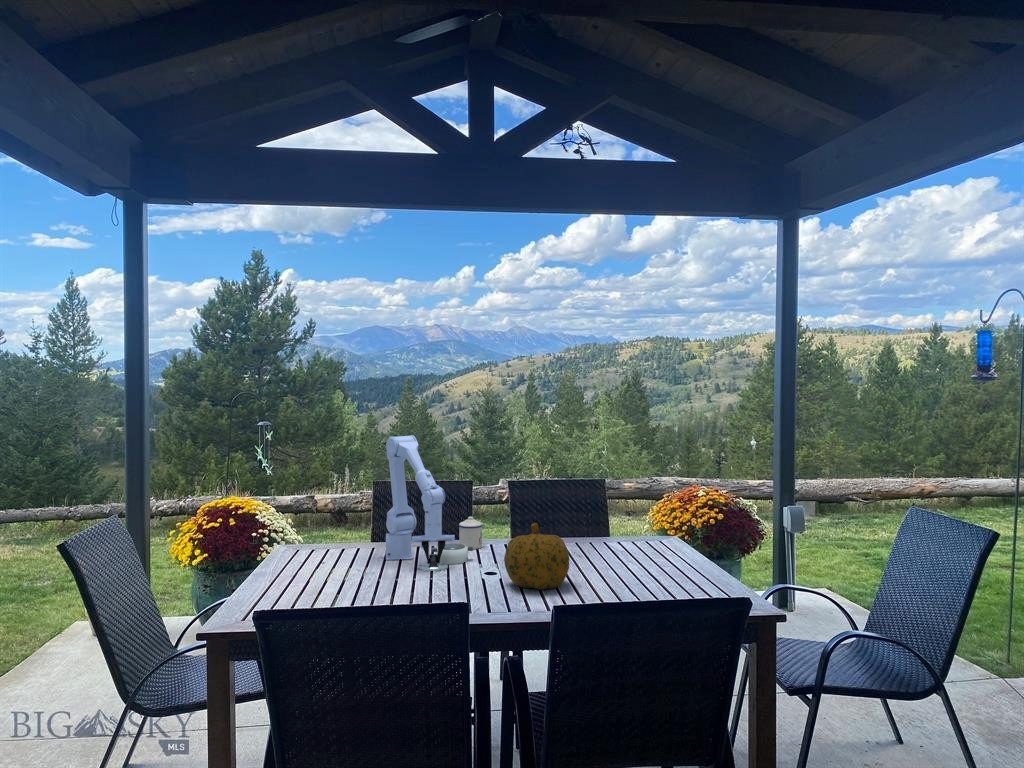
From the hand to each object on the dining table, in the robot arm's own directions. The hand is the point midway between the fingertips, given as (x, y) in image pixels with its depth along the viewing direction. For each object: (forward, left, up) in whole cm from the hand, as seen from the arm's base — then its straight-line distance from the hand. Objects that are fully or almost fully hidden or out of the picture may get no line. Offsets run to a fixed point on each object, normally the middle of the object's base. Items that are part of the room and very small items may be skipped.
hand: (433, 563), depth 250 cm
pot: (+7, +9, -2) cm, 12 cm away
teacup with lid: (+15, +30, -2) cm, 34 cm away
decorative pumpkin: (+32, -26, -2) cm, 41 cm away
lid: (0, 0, -2) cm, 2 cm away
